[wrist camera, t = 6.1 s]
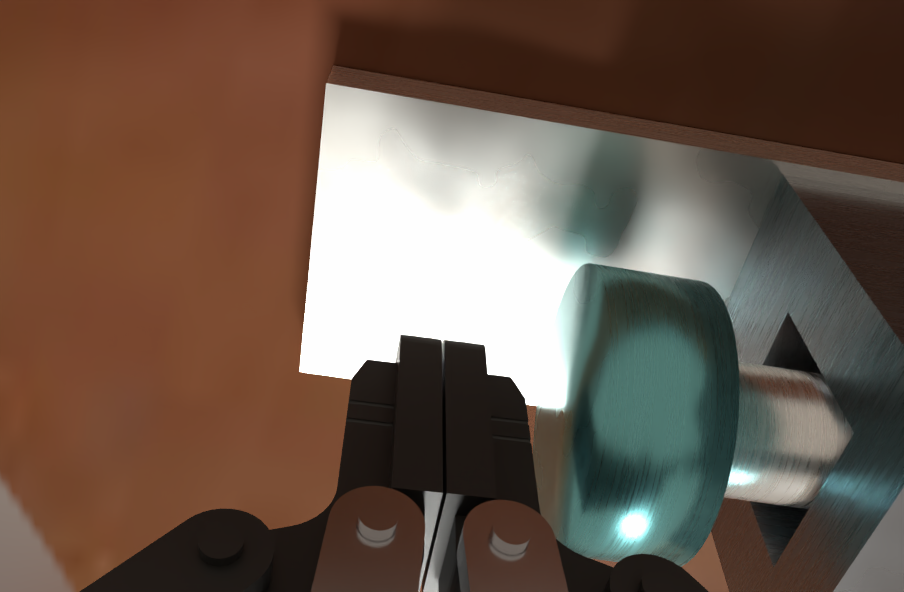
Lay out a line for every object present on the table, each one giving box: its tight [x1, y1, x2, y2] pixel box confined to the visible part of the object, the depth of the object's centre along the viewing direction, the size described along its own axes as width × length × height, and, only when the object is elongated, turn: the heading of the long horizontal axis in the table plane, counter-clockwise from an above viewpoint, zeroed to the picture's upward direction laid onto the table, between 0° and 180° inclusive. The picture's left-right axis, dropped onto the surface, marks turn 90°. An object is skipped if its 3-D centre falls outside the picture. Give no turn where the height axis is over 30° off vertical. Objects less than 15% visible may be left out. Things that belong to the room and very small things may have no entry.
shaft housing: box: [300, 65, 904, 592], centre depth 16 cm, size 17×7×8 cm, turn 80°
